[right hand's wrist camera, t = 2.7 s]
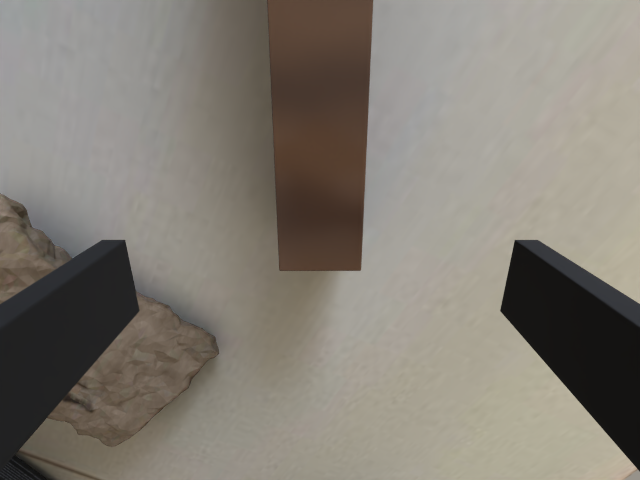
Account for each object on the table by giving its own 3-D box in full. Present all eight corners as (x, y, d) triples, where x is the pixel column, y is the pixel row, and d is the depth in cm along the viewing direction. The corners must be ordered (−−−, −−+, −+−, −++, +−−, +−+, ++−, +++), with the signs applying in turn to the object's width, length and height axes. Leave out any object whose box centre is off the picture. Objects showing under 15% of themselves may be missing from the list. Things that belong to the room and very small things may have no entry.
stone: (-106, 323, 29) (-183, 371, 23) (7, 181, 28) (-43, 195, 22) (134, 424, 37) (121, 476, 31) (227, 316, 36) (229, 351, 31)
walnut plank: (350, 228, 29) (361, 270, 22) (289, 228, 29) (279, 271, 22) (368, -316, 19) (400, -594, 11) (272, -316, 19) (240, -594, 11)
